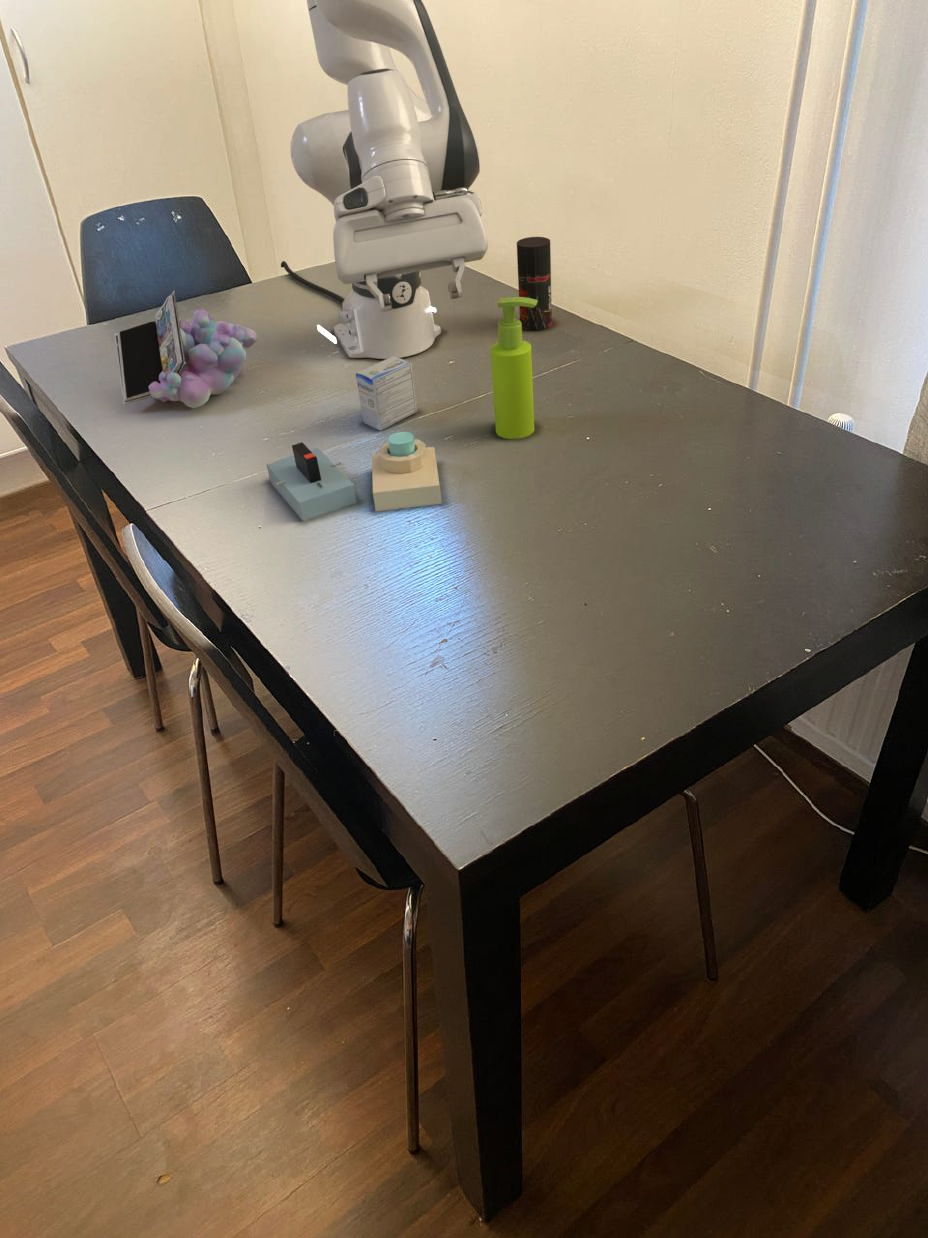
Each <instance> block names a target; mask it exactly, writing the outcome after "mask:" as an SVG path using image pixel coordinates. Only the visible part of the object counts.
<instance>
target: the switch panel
mask: <svg viewBox="0 0 928 1238" xmlns="http://www.w3.org/2000/svg"><path fill="white" fill-rule="evenodd" d="M309 450H310V451H311V452H312V453H313V454H314V455H315V456H316V457H317V461H318V466H319V471H320V475H321V480H319V481H316V482H313V483H310V482H309V481H308V480H307V478H306V477H305V476H304V475H303V474H302V473H301V472H300V471H299V470H298V468H297V467H296V463H295V458H294V455H291V456H288V457H285V458H283V459H282V458H281V459H279V460H276V461H273V462H270V463H267V464H266V469H267V473H268V477H269V481H270V483H271V484H272V486H273V488H275V490H277V492H278V493H279V494H280V496H281V497H282V498H283V499H284V500H285V501H286V503H287V504H288V505H289V506H290V508H291V509H292V510H293V512H295V514H296V515H297V516H298V517H299V518H300V520H301V521H302V522H305V521H309V520H312V519H314V518H317V517H320V516H322V515H323V516H324V515H326V514H328V513H332V512H335V511H337V510H340V509H344V508H346V507H348V506H349V507H350V506H352V505H354V504H357V502H358V501H357V496H356V491H355V490H356V489H355V485H354V483H353V481H351V480H350V479H349V478H348V477H347V476H346V475H345V474H344V472H342V471H341V470H340V469H339V468H338V467H337V466H339V465H341V464H342V462H341V461H339V462H335V463H333V462H332V461H331V460H330V459H329V457H327V456H326V455H325V453H323V452H322V450H320V448H319V447H316V448H313V449H309Z"/></svg>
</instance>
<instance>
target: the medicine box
mask: <svg viewBox="0 0 928 1238" xmlns="http://www.w3.org/2000/svg"><path fill="white" fill-rule="evenodd" d="M413 374H414V373H413V365H412V363H411V362H409V361H407V360H405V359H403V358H397V357H390V358H388V359H383V360H382V361H379V362H377V363H375V364H372V365H370V366H368V367H365V368H364V369H361V370H360V371H357V372H356V373H355V379H356V387H357V391H358V398H359V403H360V404H359V405H360V409H361V416H362V417H361V418H362V422H363V424H365V425H367V426H368V427H371V428H373V429H376V430H378V431H383V430H384V429H386V428H388V427H391V426H393V425H394V424H396V423H398V422H400V421H402V420H405V419H406V418H409V417H410V416H412V415H414V414H416V413H417V412H418V407H417V399H416V392H415V384H414V383H415V382H414V375H413Z"/></svg>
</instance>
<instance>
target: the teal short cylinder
mask: <svg viewBox="0 0 928 1238" xmlns="http://www.w3.org/2000/svg"><path fill="white" fill-rule="evenodd" d="M414 439H415V436H414V434H413V433H411V432H409V431H399V432H395V433H392V434H390V435H389V436H388V438H387V442H388V445H389V452H390V455H391V456H396V457H403V456H408V455H411V454H413V453H414V452H415V443H414Z"/></svg>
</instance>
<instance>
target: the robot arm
mask: <svg viewBox="0 0 928 1238" xmlns="http://www.w3.org/2000/svg"><path fill="white" fill-rule="evenodd" d="M306 6H307V10H308V14H309V15H308V16H309V20H310V26H311V31H312V35H313V36H312V37H313V41H314V45H315V50H316V55H317V56H316V57H317V61H318V64H319V66H320V68H321V69H322V71H323V72H324V73H325V74H326V75H327V76H328V77H329V78H330V79H332V80H334V81H336V82H338V83H339V84H340V83H341V84H342V85H345V86H347V88H346V89H347V90H346V95H347V107H348V109H345V110H339V111H332V112H327V113H326V112H325V113H322V114H319V115H317V116H314V117H312V118H309V119H307V120H304V121H303V122H301V123H300V122H299V123H298V124H297V126H296V127H295V129H294V131H293V133H292V136H291V140H290V148H289V149H290V159H291V162H292V167H293V168H294V171H295V173H296V174H297V176H298V178H300V180H301V181H302V182H303V183H304V184H305V185H306V186H307V187H309V188H311V189H312V190H314V191H315V192H317V193H319V194H320V195H322V196H323V197H324V198H325V199H326V200H327V201H328V202H330V204H331V205H332V206H333V215H334V220H335V224H334V226H333V233H332V239H333V240H332V241H333V254H334V255H333V257H334V263H335V270H336V276H337V279H338V280H339V281H340V282H341V283H342V284H344V285H350V284H351V288H352V289H351V291H350V292H349V294H348V295H347V297H343V296H341V295H339V294H337V293H335V292H333V291H331V290H329V289H326V288H324V287H323V286H320V285H318V284H315V283H313V282H312V281H309V280H306V279H305V278H303V277H301V276H300V275H298V274H297V273H295V272H294V271H293V270H292V269H291V268H290V266H289V265H288V263H287V262H286V261H285V260H283V261H281V263H280V268H284V270H285V272H287V274H289V276H291V277H292V278H293V279H294V280H296V281H297V282H299V283H300V284H302V285H303V286H306V287H309V288H310V289H313V290H314V291H316V292H319V293H322V294H324V295H326V296H328V297H330V298H332V299H334V300H335V301H338V302H340V303H341V304H342V305H341V307H342V310H340V311H338V312H337V316H338V320H339V323H338V324H336V325H335V326H334V327H333V334H334V335H332V334H331V333H330V331H328V330H326V329H325V328H324V327H322V326H321V325H320V324H317V325H316V327H317V331H318V332H319V333H321V334H322V335H323V336H325V337H326V338H327V339H328V340H330V341H331V342H332V343H334V344H337V343H338V342H339V343H340V345H341V347H342V349H343V350H344V352H345V353H346V355H347V357H348V358H350V359H365V358H366V359H377V360H386V359H388V358H390V357H397V358H400V359H403V358H406V357H407V358H408V357H410V356H414V355H417V354H420V353H422V352H424V351H426V350H428V349H429V348H430V347H432V346H433V344H434V342H435V339H436V338H437V337H438V336H440V335H441V334H442V327H441V326H440V325H439V324H435V321H434V320H435V319H434V314H433V312H434V313H436V312H437V308H436V307H433V306H432V303H431V298H430V293H429V290H428V289H426V288H425V287H423V286H422V272H421V271H427V270H432V269H438V268H443V267H448V266H451V267H452V272H453V273H456V276H455V278H454V279H455V280H454V281H451V282H448V285H447V289H448V292H449V298H450V300H453V299H459V298H462V297H463V289H462V285H461V281H462V278H463V275H464V271H465V268H466V263H470V262H476V261H481V260H483V258H484V257H485V255H486V254H487V251H488V248H489V240H488V236H487V233H486V229H485V226H484V223H483V221H482V218H481V217H482V215H483V207H482V203H481V198H480V196H479V194H478V193H477V192H475V191H474V190H472V189H470V187H471V186H472V185H473V184H474V183H475V181H476V179H477V178H478V176H479V174H480V170H481V168H480V167H481V166H480V164H481V157H480V150H479V146H478V142H477V139H476V137H475V134H474V132H473V129H472V128H471V126H470V124H469V121H468V119H467V116H466V114H465V112H464V109H463V107H462V104H461V102H460V99H459V96H458V94H457V91H456V88H455V84H454V82H453V79H452V76H451V73H450V71H449V70H450V69H449V67H448V65H447V61H446V59H445V56H444V54H443V50H442V47H441V45H440V42H439V39H438V36H437V34H436V31H435V28H434V26H433V23H432V20H431V17H430V16H429V13H428V10H427V8H426V7H425V4H424V2H423V0H306ZM390 48H391V49H393V50H395V51H397V52H399V53H400V54H402V55H404V56H405V57H406V58H407V59H408V60H409V62H410V63H411V64H412V66H413V69H414V70H415V73H416V77H417V79H418V81H419V85H420V88H421V91H422V93H423V96H424V98H425V99H423V98H422V97H421V96H419V94H417V93H416V92H415V91H414V90H413V89H412V88H411V87H410V86H409V85H408V84H407V82H406V79H405V77H404V75H403V73H402V72H401V71H399V70H398V68H397V66H396V63H395V61H394V59H393V55H392V53H391V49H390ZM337 340H338V341H337Z"/></svg>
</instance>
